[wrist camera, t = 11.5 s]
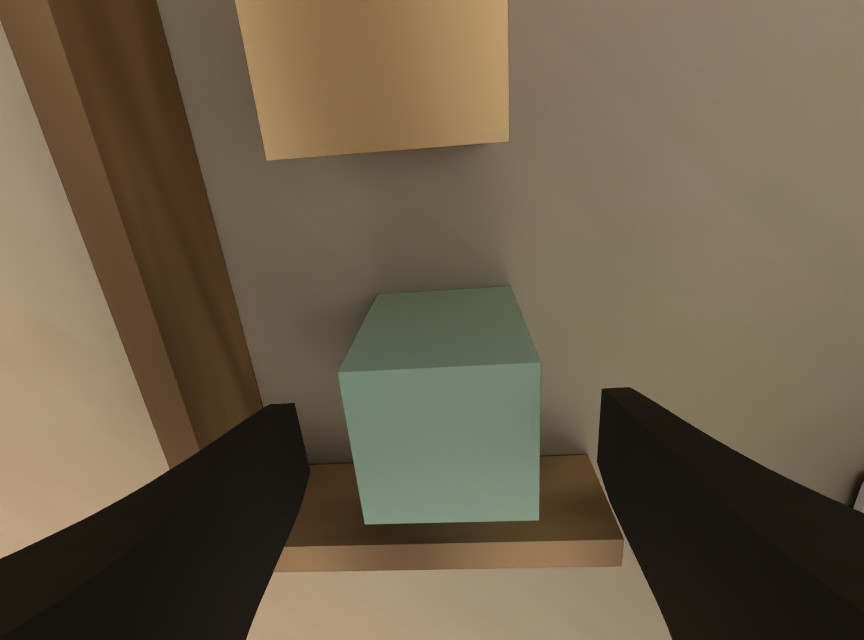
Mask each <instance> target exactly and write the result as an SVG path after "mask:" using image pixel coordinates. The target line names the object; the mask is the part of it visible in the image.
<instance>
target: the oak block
mask: <svg viewBox="0 0 864 640" xmlns="http://www.w3.org/2000/svg"><path fill="white" fill-rule="evenodd" d="M235 4H236V9H237V14H238V19H239V24H240V29H241V34H242V39H243V44H244V49H245V54H246V59H247V64H248V69H249V74H250V79H251V84H252V89H253V94H254V99H255V104H256V109H257V114H258V119H259V124H260V129H261V134H262V139H263V144H264V149H265V154H266V159H267V160H279V159H292V158H305V157H317V156H330V155H343V154H355V153H368V152H380V151H393V150H406V149H418V148H431V147H444V146H456V145H469V144H482V143H494V142H507V141H509V98H508V0H235Z"/></svg>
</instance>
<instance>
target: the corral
mask: <svg viewBox="0 0 864 640" xmlns="http://www.w3.org/2000/svg"><path fill="white" fill-rule="evenodd" d="M0 20H1V23H2V25H3V28H4V31H5V33H6V36H7V39H8V41H9V44H10V47H11V49H12V52H13V54H14V57H15V60H16V62H17V65H18V68H19V70H20V73H21V76H22V78H23V81H24V84H25V86H26V89H27V92H28V94H29V97H30V100H31V102H32V105H33V108H34V110H35V113H36V115H37V118H38V121H39V123H40V126H41V129H42V131H43V134H44V137H45V139H46V142H47V145H48V147H49V150H50V153H51V155H52V158H53V161H54V163H55V166H56V168H57V171H58V174H59V176H60V179H61V182H62V184H63V187H64V190H65V192H66V195H67V198H68V200H69V203H70V206H71V208H72V211H73V214H74V216H75V219H76V222H77V224H78V227H79V229H80V232H81V235H82V237H83V240H84V243H85V245H86V248H87V251H88V253H89V256H90V259H91V261H92V264H93V267H94V269H95V272H96V275H97V277H98V280H99V282H100V285H101V288H102V290H103V293H104V296H105V298H106V301H107V304H108V306H109V309H110V312H111V314H112V317H113V320H114V322H115V325H116V328H117V330H118V333H119V336H120V338H121V341H122V343H123V346H124V349H125V351H126V354H127V357H128V359H129V362H130V365H131V367H132V370H133V373H134V375H135V378H136V381H137V383H138V386H139V389H140V391H141V394H142V396H143V399H144V402H145V404H146V407H147V410H148V412H149V415H150V418H151V420H152V423H153V426H154V428H155V431H156V434H157V436H158V439H159V442H160V444H161V447H162V450H163V452H164V455H165V457H166V460H167V463H168V465H169V468H170V469H172V468H174V467H175V466H177V465H178V464H180V463H181V462H183V461H185V460H186V459H188V458H189V457H191V456H192V455H194V454H195V453H197V452H198V451H200V450H201V449H203V448H204V447H206V446H207V445H209V444H210V443H212V442H213V441H215V440H216V439H218V438H219V437H221V436H222V435H223V434H225V433H226V432H228V431H229V430H231V429H232V428H234V427H235V426H237V425H238V424H240V423H241V422H242V421H244V420H245V419H247V418H248V417H250V416H251V415H253V414H255V413H256V412H258V411H259V410H261V409H263V406H262V403H261V399H260V395H259V391H258V387H257V384H256V380H255V376H254V372H253V369H252V365H251V361H250V357H249V353H248V350H247V346H246V342H245V338H244V334H243V331H242V327H241V323H240V319H239V315H238V312H237V308H236V304H235V300H234V296H233V293H232V289H231V285H230V281H229V277H228V274H227V270H226V266H225V262H224V259H223V255H222V251H221V247H220V243H219V240H218V236H217V232H216V228H215V224H214V221H213V217H212V213H211V209H210V205H209V202H208V198H207V194H206V190H205V186H204V183H203V179H202V175H201V171H200V167H199V164H198V160H197V156H196V152H195V149H194V145H193V141H192V137H191V133H190V130H189V126H188V122H187V118H186V114H185V111H184V107H183V103H182V99H181V95H180V92H179V88H178V84H177V80H176V76H175V73H174V69H173V65H172V61H171V57H170V54H169V50H168V46H167V42H166V39H165V35H164V31H163V27H162V23H161V20H160V16H159V12H158V8H157V4H156V1H155V0H0ZM309 468H310V475H309V479H308V483H307V486H306V490H305V494H304V497H303V501H302V504H301V507H300V511H299V513H298V516H297V518H296V521H295V523H294V525H293V528H292V530H291V532H290V535H289V537H288V539H287V542H286V544H285V546H284V549H283V551H282V553H281V556H280V558H279V560H278V562H277V565H276V567H275V569H274V572H322V571H378V570H435V569H492V568H549V567H606V566H621V565H622V555H623V546H624V538H623V536H622V533H621V531H620V529H619V526H618V524H617V522H616V519H615V517H614V515H613V512H612V510H611V508H610V505H609V503H608V501H607V499H606V496H605V494H604V492H603V489H602V487H601V485H600V482H599V480H598V478H597V475H596V473H595V471H594V468H593V466H592V464H591V461H590V459H589V457H588V455H565V456H540V473H539V520H532V521H489V522H445V523H402V524H365V523H364V517H363V512H362V506H361V501H360V495H359V489H358V484H357V478H356V473H355V467H354V463H345V464H318V465H309Z"/></svg>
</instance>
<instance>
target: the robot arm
mask: <svg viewBox="0 0 864 640" xmlns="http://www.w3.org/2000/svg"><path fill="white" fill-rule="evenodd" d="M597 463H598V466H599V470H600V473H601V476H602V479H603V483H604V486H605V489H606V492H607V495H608V498H609V500H610V503H611V505H612V508H613V510H614V512H615V514H616V516H617V518H618V521H619V523H620V525H621V527H622V529H623V531H624V534H625V536H626V538H627V540H628V542H629V544H630V546H631V548H632V550H633V553H634V555H635V557H636V559H637V561H638V563H639V565H640V567H641V569H642V571H643V574H644V576H645V578H646V580H647V582H648V584H649V586H650V588H651V590H652V593H653V595H654V597H655V599H656V601H657V603H658V606H659V608H660V610H661V613H662V615H663V617H664V620H665V622H666V624H667V627H668V629H669V632H670V635H671V637H672V640H864V482H863V483H862V485H861V488H860V491H859V494H858V497H857V499H856V502H855V505H854V508H851V507H849V506H846V505H844V504H842V503H840V502H837V501H835V500H833V499H830V498H828V497H826V496H824V495H822V494H820V493H818V492H815V491H813V490H811V489H809V488H807V487H805V486H803V485H801V484H798V483H796V482H794V481H792V480H790V479H788V478H786V477H784V476H782V475H780V474H778V473H776V472H774V471H772V470H770V469H768V468H766V467H764V466H762V465H760V464H759V463H757V462H755V461H753V460H751V459H749V458H748V457H746V456H744V455H742V454H740V453H738V452H737V451H735V450H733V449H731V448H729V447H728V446H726V445H724V444H722V443H721V442H719V441H717V440H715V439H714V438H712V437H710V436H709V435H707V434H705V433H704V432H702V431H700V430H699V429H697V428H695V427H694V426H692V425H691V424H689V423H687V422H686V421H684V420H682V419H681V418H679V417H678V416H676V415H674V414H673V413H671V412H670V411H668V410H667V409H665V408H663V407H662V406H660V405H659V404H657V403H655V402H654V401H652V400H651V399H649V398H647V397H646V396H644V395H642V394H641V393H639V392H637V391H636V390H634V389H632V388H630V387H627V388H606V389H602V395H601V410H600V425H599V440H598V455H597ZM309 475H310V468H309V464H308V460H307V455H306V451H305V447H304V442H303V438H302V434H301V429H300V425H299V421H298V416H297V412H296V408H295V403H289V404H270V405H268V406H266V407H264V408H263V409H261V410H259V411H258V412H256V413H255V414H253V415H251V416H250V417H248V418H247V419H245V420H244V421H242V422H241V423H240V424H238V425H237V426H235V427H234V428H232V429H231V430H229V431H228V432H226V433H225V434H223V435H222V436H221V437H219V438H218V439H216V440H215V441H213V442H212V443H210V444H209V445H207V446H206V447H204V448H203V449H201V450H200V451H198V452H197V453H195V454H194V455H192V456H191V457H189V458H188V459H186V460H185V461H183V462H181V463H180V464H178V465H177V466H175V467H174V468H172V469H170V470H169V471H167V472H166V473H164V474H163V475H161V476H159V477H158V478H156V479H155V480H153V481H152V482H150V483H148V484H147V485H145V486H143V487H142V488H140V489H138V490H136V491H135V492H133V493H131V494H129V495H128V496H126V497H124V498H123V499H121V500H119V501H117V502H115V503H113V504H111V505H110V506H108V507H106V508H104V509H102V510H100V511H99V512H97V513H95V514H93V515H91V516H89V517H87V518H85V519H83V520H81V521H79V522H77V523H75V524H73V525H71V526H69V527H67V528H65V529H63V530H61V531H59V532H57V533H54V534H52V535H50V536H48V537H46V538H44V539H42V540H40V541H38V542H36V543H34V544H32V545H30V546H27V547H25V548H23V549H21V550H19V551H17V552H15V553H12V554H10V555H8V556H6V557H3V558H1V559H0V640H246V638H247V635H248V632H249V629H250V627H251V624H252V621H253V619H254V616H255V614H256V611H257V609H258V606H259V604H260V601H261V599H262V597H263V595H264V592H265V590H266V588H267V585H268V583H269V581H270V579H271V576H272V574H273V572H274V569H275V567H276V565H277V562H278V560H279V558H280V556H281V553H282V551H283V549H284V546H285V544H286V542H287V539H288V537H289V535H290V532H291V530H292V528H293V525H294V523H295V521H296V518H297V516H298V513H299V511H300V507H301V504H302V501H303V497H304V494H305V490H306V486H307V483H308V479H309Z"/></svg>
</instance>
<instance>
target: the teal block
mask: <svg viewBox="0 0 864 640" xmlns="http://www.w3.org/2000/svg"><path fill="white" fill-rule="evenodd" d="M337 373H338V379H339V384H340V390H341V395H342V401H343V407H344V412H345V418H346V423H347V429H348V434H349V440H350V445H351V451H352V456H353V462H354V467H355V473H356V478H357V484H358V489H359V495H360V501H361V506H362V512H363V517H364V523H365V524H402V523H445V522H489V521H532V520H539V473H540V381H541V362H540V359H539V357H538V354H537V352H536V349H535V347H534V344H533V342H532V339H531V337H530V334H529V332H528V329H527V327H526V324H525V322H524V319H523V317H522V314H521V311H520V309H519V306H518V304H517V301H516V299H515V296H514V294H513V291H512V289H511V286H501V287H485V288H469V289H453V290H437V291H421V292H405V293H389V294H378V295H377V297H376V299H375V301H374V303H373V305H372V306H371V308H370V310H369V312H368V314H367V316H366V318H365V320H364V322H363V324H362V326H361V328H360V330H359V332H358V334H357V335H356V337H355V339H354V341H353V343H352V345H351V347H350V349H349V351H348V353H347V355H346V357H345V359H344V361H343V363H342V365H341V366H340V368H339V370H338V372H337Z"/></svg>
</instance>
